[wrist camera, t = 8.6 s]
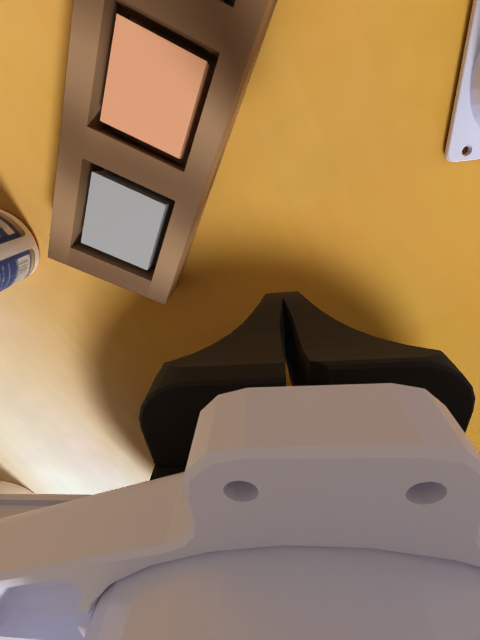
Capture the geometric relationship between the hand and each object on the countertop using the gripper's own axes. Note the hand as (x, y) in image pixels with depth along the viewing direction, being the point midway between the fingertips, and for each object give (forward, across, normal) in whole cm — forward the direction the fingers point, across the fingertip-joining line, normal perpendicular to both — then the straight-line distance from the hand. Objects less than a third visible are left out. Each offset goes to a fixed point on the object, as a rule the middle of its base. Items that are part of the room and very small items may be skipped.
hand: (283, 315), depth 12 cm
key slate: (+10, +9, -3) cm, 14 cm away
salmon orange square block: (+10, +6, -9) cm, 15 cm away
